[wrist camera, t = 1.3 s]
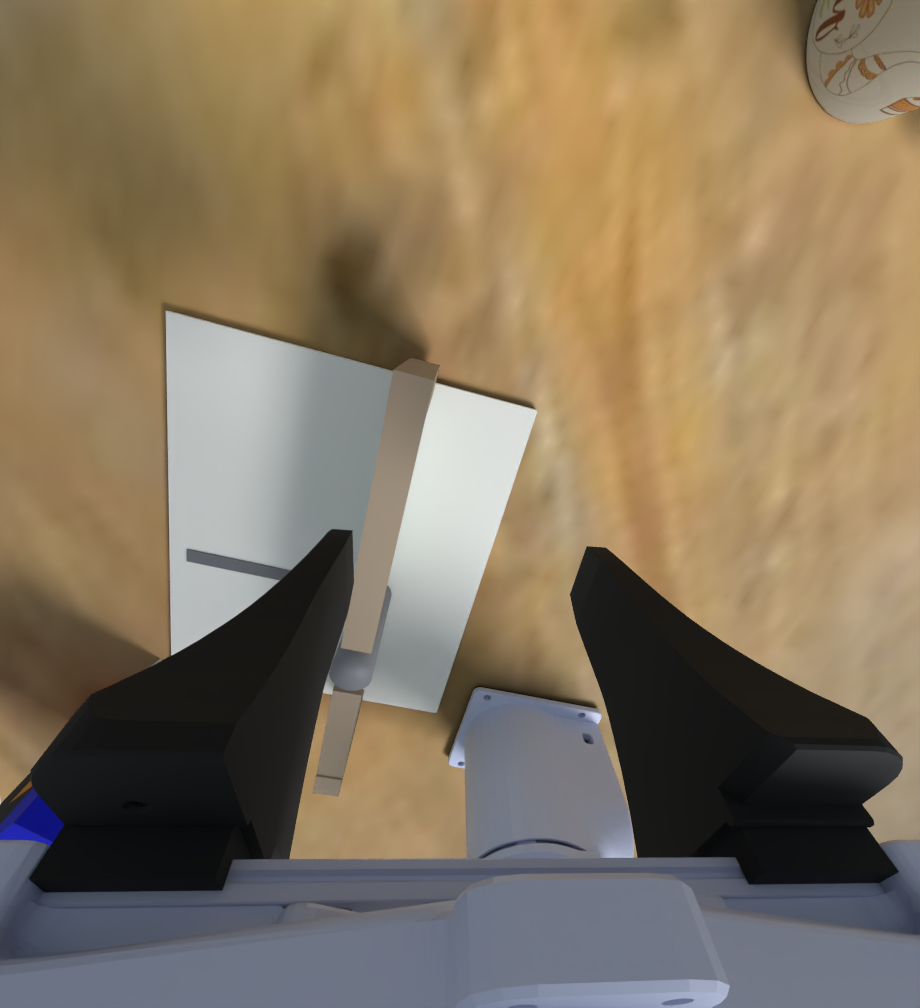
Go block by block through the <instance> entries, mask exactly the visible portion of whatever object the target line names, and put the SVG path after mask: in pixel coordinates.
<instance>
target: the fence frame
mask: <svg viewBox="0 0 920 1008" xmlns="http://www.w3.org/2000/svg"><path fill="white" fill-rule="evenodd" d="M391 595H392V593H391V589H390V588H389V586H388V585H387V588H386V593H385V597H384V601H383V606H382V610H381V614H380V619H379V623H378V627H377V632H376V636H375V641H374V645H373V649H372V653H371V654H370V653H365V652H359V651H354V650H349V649H344V648H341V644H342V639H343V635H342V637H341V640H340V643H339V646H338V648H337V651H336V654H335V656H334V659H333V662H332V665H331V667H330V671H329V676H330V679H331V681H332V682H333V683H334V684H335V685H334V688H333V691H332V696H331V701H330V707H329V712H328V717H327V722H326V728H325V733H324V738H323V743H322V749H321V754H320V759H319V764H318V770H317V775H316V779H315V784H314V789H313V793H318V794H325V795H331V796H339V792H340V788H341V784H342V780H343V776H344V772H345V768H346V764H347V760H348V756H349V752H350V748H351V744H352V740H353V736H354V731H355V727H356V723H357V719H358V715H359V711H360V707H361V703H362V699H363V694H364V690H363V688H365V687H367V686H368V685H369V684H370V682H371V680H372V677H373V673H374V668H375V664H376V660H377V656H378V651H379V647H380V643H381V638H382V634H383V630H384V626H385V621H386V617H387V613H388V609H389V604H390V600H391ZM343 633H344V632H343Z"/></svg>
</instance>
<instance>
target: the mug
mask: <svg viewBox="0 0 920 1008" xmlns="http://www.w3.org/2000/svg"><path fill="white" fill-rule="evenodd" d="M806 62H807V72H808V77H809V82H810V85H811V88H812V91H813V93H814V95H815V97H816V99H817V101H818V102H819V104H820V105H821V106H822V107H823V109H824V110H825V111H826V112H828V113H829V114H830V115H832V116H833V117H835V118H837V119H839V120H841V121H844V122H848V123H854V124H865V123H872V122H877V121H881V120H884V119H888V118H891V117H894V116H897V115H901V114H904V113H907V112H910V111H913V110H916V109H919V108H920V0H818V1H817V4H816V6H815V9H814V12H813V16H812V20H811V24H810V28H809V33H808V39H807V54H806Z"/></svg>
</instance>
